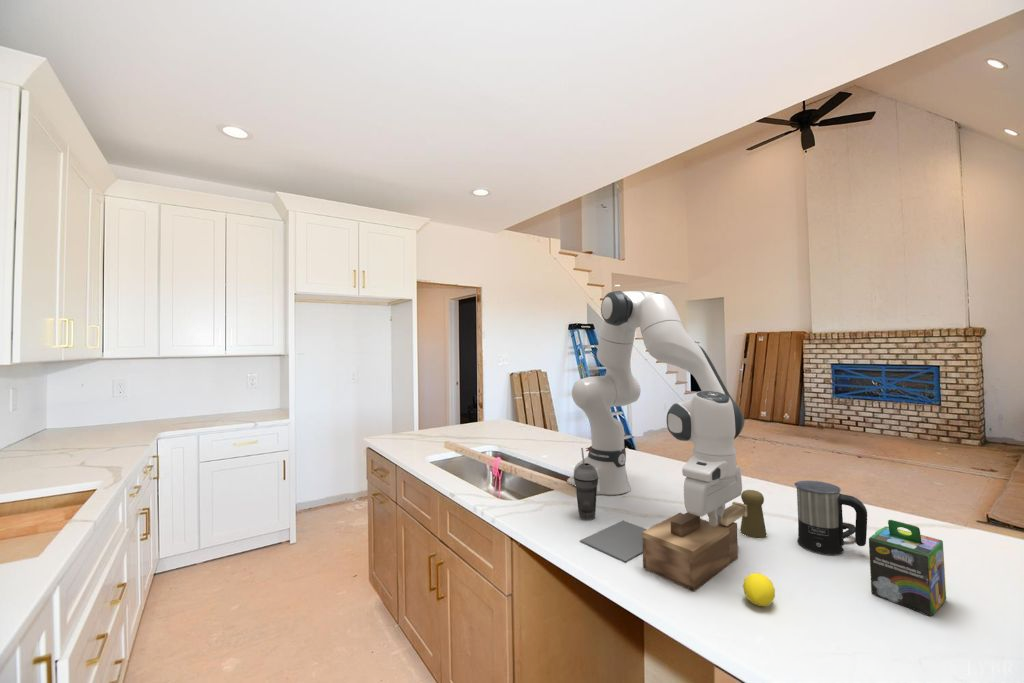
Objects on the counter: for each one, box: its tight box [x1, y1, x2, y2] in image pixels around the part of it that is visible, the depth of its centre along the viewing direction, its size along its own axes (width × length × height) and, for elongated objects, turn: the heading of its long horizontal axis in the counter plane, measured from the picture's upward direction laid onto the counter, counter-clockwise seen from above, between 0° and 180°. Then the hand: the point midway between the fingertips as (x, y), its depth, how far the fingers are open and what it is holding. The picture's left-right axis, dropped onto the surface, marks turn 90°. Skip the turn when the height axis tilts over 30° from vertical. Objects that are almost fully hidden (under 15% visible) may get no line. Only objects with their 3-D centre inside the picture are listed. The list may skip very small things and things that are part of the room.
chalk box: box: [868, 519, 947, 617], centre depth 84 cm, size 9×9×15 cm
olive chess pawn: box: [739, 489, 768, 539], centre depth 112 cm, size 6×6×11 cm
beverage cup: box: [573, 447, 599, 521], centre depth 125 cm, size 7×7×20 cm
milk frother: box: [794, 479, 868, 556], centre depth 107 cm, size 14×16×15 cm
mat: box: [579, 520, 648, 564], centre depth 110 cm, size 14×18×1 cm
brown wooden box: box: [642, 521, 739, 592], centre depth 98 cm, size 12×20×8 cm, turn 129°
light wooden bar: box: [721, 501, 747, 526], centre depth 102 cm, size 3×10×3 cm, turn 129°
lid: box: [642, 511, 729, 557], centre depth 97 cm, size 12×16×5 cm
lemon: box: [742, 572, 776, 607], centre depth 83 cm, size 7×5×5 cm
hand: (715, 524), depth 98 cm, fingers closed
